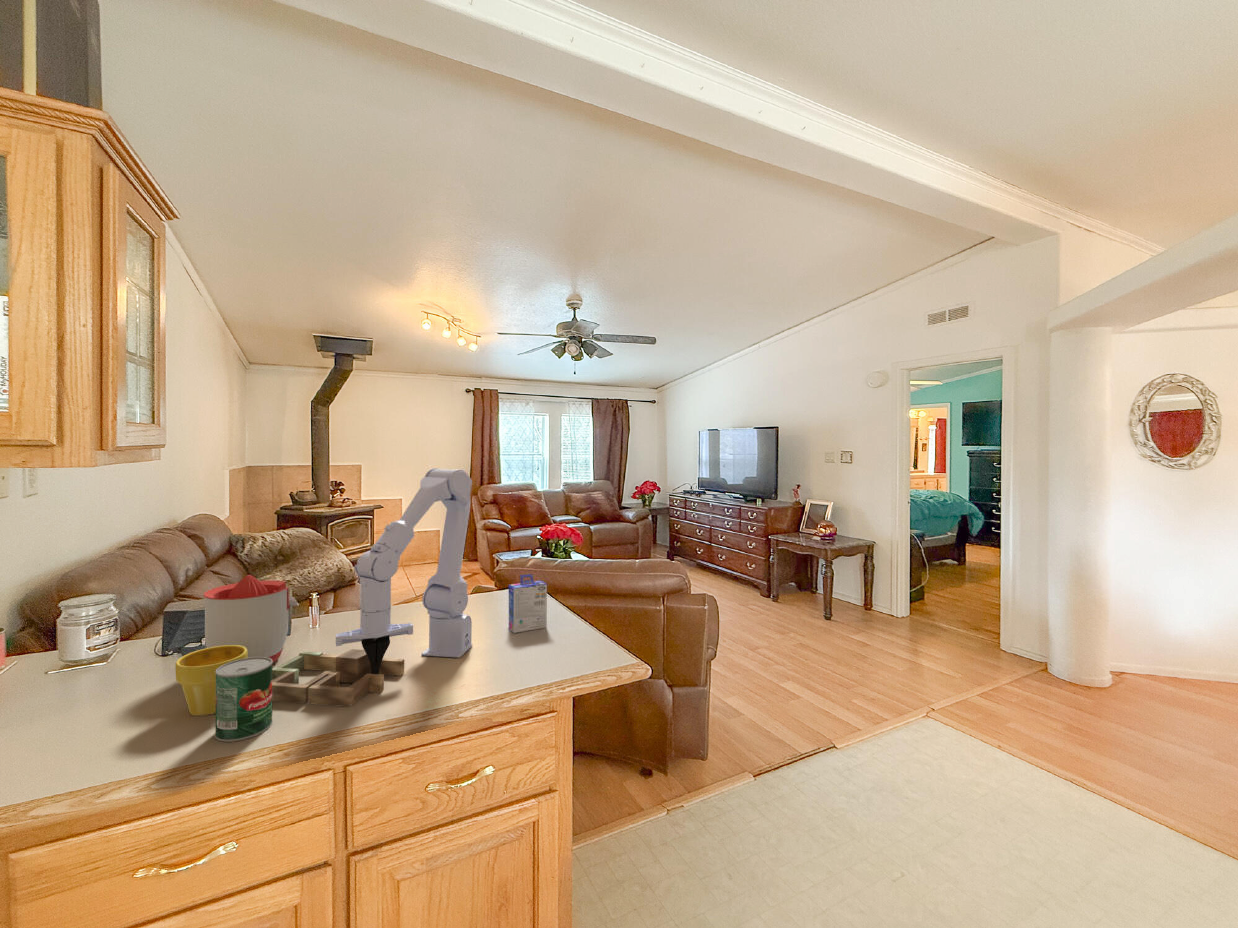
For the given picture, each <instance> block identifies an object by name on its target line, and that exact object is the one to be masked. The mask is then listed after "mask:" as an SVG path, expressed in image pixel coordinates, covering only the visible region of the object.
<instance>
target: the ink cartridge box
mask: <svg viewBox="0 0 1238 928" xmlns="http://www.w3.org/2000/svg"><path fill="white" fill-rule="evenodd" d="M519 578H520V580H519V581H520V582H519V583H511V584H508V629H509V630H510V631H511V632H512V633H513V634H515V633H522V632H526V631H527V632H528V631H532V630H539V629H545V628H547V627H548V626H547V625H548V621H547V620H548V618H547V616H548V615H547V614H548V612H547V611H548V609H547V608H548V605H547V604H548V602H547V601H548V584H547V583H546V582H544V581H542V580H534V577H533V573H528V574H520V575H519ZM525 578H530V579H525Z"/></svg>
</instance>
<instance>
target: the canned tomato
mask: <svg viewBox="0 0 1238 928" xmlns="http://www.w3.org/2000/svg"><path fill="white" fill-rule="evenodd" d="M273 664H274V663H273V661H272V659H271V658H268V657H250V658H244V659H239V660H235V661H232V662H229V663H226V664H224V665H222V666H220V667H219V668H217V669H216V671H215V674H216V691H215V692H216V696H215V697H216V700H215V702H216V705H215V707H216V710H215V712H216V713H214V714H215V734H214V737H215V740H217V741H219V742H223V743H231V742H232V743H234V742H239V741H244V740H247V739H251V738H253V737H256V736H258V735H260V734H262V733H265V732H266V731H267V730H268V729H270V728H271V726H272V725H273V701H272V672H273V671H272V669H273Z"/></svg>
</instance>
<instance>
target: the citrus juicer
mask: <svg viewBox="0 0 1238 928" xmlns="http://www.w3.org/2000/svg"><path fill="white" fill-rule="evenodd" d="M286 583H287V582H286V581H283V580H275V579H274V580H273V579H272V580H271V579H269V580H268V579H267V580H266V579H265V580H259V579H258V578H256V577H254V576H253V575H251V574H247V575H246V576H244V577H243V578H242V579H241V580H240V581H238V582H236V583H229V584H226V585H225V584H224V585H220V586H216V587H214V588H211V589H208V590H206V591H205V592H204V593H203V597H204V641H205V645H206V647H205V648H210V647H215V646H223V645H240V646H244V647H246V648H247V651H248V658H250V657H268V658H271V659H272V661H273V663H272V664H274V663H275V662H277V661H278V660H279V658H280V657H281V654H282V652H283V650H284V647H285V646H284V645H285V642H286V640H287V635H288V631H289V609H290V607H299V603H298V601H297V600H296V598H295V597H293V596H291V595H289V593H290V592H289V586H287V584H286Z"/></svg>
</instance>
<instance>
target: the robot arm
mask: <svg viewBox="0 0 1238 928" xmlns="http://www.w3.org/2000/svg"><path fill="white" fill-rule="evenodd" d="M472 485H473V480H472V478H471V477H470V476H469V474H468V473H467V471H465V470H464V469H460V468H459V469H445V468H442V469H441V468H430V469H429V470H427V472H426V473H425V475H424V477H423V478H421V479H420V487H419V489H418V491H417V493H416V494H415V495H414V496H413V498H412V500H411V502H410V503H409V504H408V506H407V508H406V509H405V511H404V512H403V513H402V515H401V517H400V519H398V520H394V521H391V522H390V523H388V524H386V526H385V527H384V529H383V530H384V531H383V532H382V534H381V535H380V536H379V538H378V539H377V540H376V542H375V543H374V544H373V545H372V546H371V547H370V550H367V551H366V552H364V553H362V554H361V555H360V556H359V557H358V559H357V561H356V564H355V565H354V566H353V568H354V572H355V575H357V577H358V578H359V585H360V617H359V618H360V619H359V621H360V622H359V623H360V624H359V625H360V627H359V628H357V629H353V630H350V631H349V630H348V631H343V632H341V633H339V632H338V633H335V647H339V646H342V645H346V644H352V643H358V642H361V645H362V648H363V649H362V650H364V651H365V652H366V654H367V656H368V659H369V661H370V665H371V673H372V674H379V670H380V666H381V662H382V659H383V658H385V654H386V652H387V650H388V648H389V646H390V643H391V639H390V637H396V636H405V635H407V636H411V635H414V624H413V623H412V622H409V623H393V624H391V620H392V618H391V617H392V614H391V612H392V611H391V610H392V609H391V605H392V578H393V576H394V575H395V574H397V572H398V568H399V561H400V560H401V555H402V554H403V553H404V552H405V550H406V548H407V547H408V545H409V544H410V543H411V541H412V539H413V538H414V537H415V532H414V531H415V530H414V528H415V527H416V525H417V524H418V523H419V522H421V521H420V520H421V519H422V518H423V517H424V516H425V515H426V514H427V512H428V511H429V510H430V509H431V507H432V506H433V505H434V503H436V502H441V503H442V505H444V507H445V508H446V514H445V520H444V525H443V533H442V538H441V544H440V550H439V557H438V563H437V569H436V573H434V574H433V575H432V576H431V577H430V578H429V579H428V582H427V586H426V588H425V590H424V592H423V595H422V598H421V599H422V600H421V601H422V605H423V607H424V608H425V609H426V610H427V615H428V616H429V617H428V618H429V620H428V623H429V624H428V625H429V626H428V631H429V632H428V647H427V649H425V650H424V651H422V653H421V656H428V657H444V658H461V657H462V656H464V654H465V653H466V652H468V650H469V649H471V647H473V643H472V631H473V630H472V627H473V625H472V624H473V622H472V617H471V616H470V615H468V614H464V611H465V610H466V608H467V607H468V603H469V595H468V583H467V582H466V580H465V579H464V577H463V576H462V575H461V572H462V567H463V566H462V565H463V558H464V551H465V546H466V540H467V539H466V538H467V532H468V525H469V519H470V513H471V504H472V502H471V491H472Z"/></svg>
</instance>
